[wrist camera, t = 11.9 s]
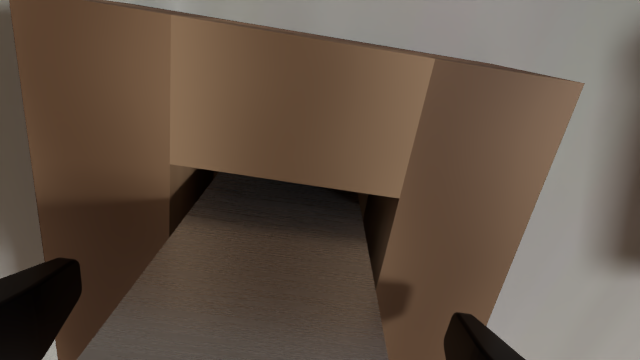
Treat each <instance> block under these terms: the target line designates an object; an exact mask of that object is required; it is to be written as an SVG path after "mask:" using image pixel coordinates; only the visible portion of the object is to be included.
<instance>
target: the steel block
mask: <svg viewBox="0 0 640 360" xmlns="http://www.w3.org/2000/svg"><path fill="white" fill-rule="evenodd" d="M77 360H389V359H388V354H387V349H386V343H385V338H384V333H383V327H382V322H381V316H380V311H379V306H378V300H377V295H376V290H375V284H374V279H373V273H372V268H371V263H370V257H369V252H368V247H367V241H366V236H365V230H364V225H363V220H362V214H361V209H360V203H359V198H358V193H357V192H352V191H346V190H339V189H332V188H326V187H319V186H312V185H306V184H299V183H292V182H286V181H279V180H272V179H266V178H259V177H252V176H246V175H239V174H232V173H226V172H219V173H218V174H217V175H216V177H215V178H214V179H213V181H212V182H211V183H210V185H209V186H208V187H207V189H206V190H205V191H204V193H203V194H202V195H201V196H200V198H199V199H198V200H197V202H196V203H195V204H194V206H193V207H192V208H191V210H190V211H189V212H188V214H187V215H186V216H185V218H184V219H183V220H182V222H181V223H180V224H179V225H178V227H177V228H176V229H175V231H174V232H173V233H172V235H171V236H170V237H169V239H168V240H167V241H166V243H165V244H164V245H163V247H162V248H161V249H160V251H159V252H158V253H157V254H156V256H155V257H154V258H153V260H152V261H151V262H150V264H149V265H148V266H147V268H146V269H145V270H144V272H143V273H142V274H141V276H140V277H139V278H138V280H137V281H136V282H135V284H134V285H133V286H132V287H131V289H130V290H129V291H128V293H127V294H126V295H125V297H124V298H123V299H122V301H121V302H120V303H119V305H118V306H117V307H116V309H115V310H114V311H113V313H112V314H111V315H110V316H109V318H108V319H107V320H106V322H105V323H104V324H103V326H102V327H101V328H100V330H99V331H98V332H97V334H96V335H95V336H94V338H93V339H92V340H91V342H90V343H89V344H88V345H87V347H86V348H85V349H84V351H83V352H82V353H81V355H80V356H79V357H78V359H77Z"/></svg>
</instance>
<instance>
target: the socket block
mask: <svg viewBox="0 0 640 360" xmlns="http://www.w3.org/2000/svg"><path fill="white" fill-rule="evenodd" d="M9 3H10V10H11V17H12V25H13V32H14V39H15V47H16V54H17V61H18V69H19V76H20V83H21V91H22V98H23V105H24V113H25V120H26V128H27V135H28V142H29V150H30V157H31V164H32V172H33V179H34V186H35V194H36V201H37V208H38V216H39V223H40V231H41V238H42V245H43V253H44V260H45V262H47V261H50V260H53V259H55V258H59V257H62V258H70V259H76V260H77V261H78V262H79V263H80V270H81V281H82V293H81V296H80V298H79V300H78V302H77V303H76V305H75V307H74V308H73V310H72V312H71V313H70V315H69V317H68V318H67V320H66V322H65V323H64V325H63V326H62V328H61V330H60V331H59V333H58V335H57V336H56V338H55V341H56V348H57V356H58V360H77V359H78V357H79V356H80V355H81V353H82V352H83V351H84V349H85V348H86V347H87V345H88V344H89V343H90V342H91V340H92V339H93V338H94V336H95V335H96V334H97V332H98V331H99V330H100V328H101V327H102V326H103V324H104V323H105V322H106V320H107V319H108V318H109V316H110V315H111V314H112V313H113V311H114V310H115V309H116V307H117V306H118V305H119V303H120V302H121V301H122V299H123V298H124V297H125V295H126V294H127V293H128V291H129V290H130V289H131V287H132V286H133V285H134V284H135V282H136V281H137V280H138V278H139V277H140V276H141V274H142V273H143V272H144V270H145V269H146V268H147V266H148V265H149V264H150V262H151V261H152V260H153V258H154V257H155V256H156V254H157V253H158V252H159V251H160V249H161V248H162V247H163V245H164V244H165V243H166V241H167V240H168V239H169V237H170V236H171V235H172V233H173V232H174V231H175V229H176V228H177V227H178V225H179V224H180V223H181V222H182V220H183V219H184V218H185V216H186V215H187V214H188V212H189V211H190V210H191V208H192V207H193V206H194V204H195V203H196V202H197V200H198V199H199V198H200V196H201V195H202V194H203V193H204V191H205V190H206V189H207V187H208V186H209V185H210V183H211V182H212V181H213V179H214V178H215V177H216V175H217V174H218V173H219V172H226V173H232V174H239V175H246V176H252V177H259V178H266V179H272V180H279V181H286V182H292V183H299V184H306V185H312V186H319V187H326V188H332V189H339V190H346V191H352V192H357V193H358V198H359V203H360V209H361V214H362V220H363V225H364V230H365V236H366V241H367V247H368V252H369V257H370V263H371V268H372V273H373V279H374V284H375V290H376V295H377V300H378V306H379V311H380V316H381V322H382V327H383V333H384V338H385V343H386V349H387V354H388V359H389V360H446V358H445V352H444V337H445V334H446V331H447V328H448V325H449V323H450V320H451V317H452V315H453V314H454V313H456V312H461V313H468V314H472V315H473V316H475V317H476V318H477V319H478V320H479V321H480V322H482V323H483V324H484V325H485V326H486V325H487V323H488V320H489V318H490V315H491V313H492V310H493V308H494V305H495V303H496V300H497V298H498V295H499V293H500V291H501V288H502V286H503V283H504V281H505V278H506V276H507V273H508V271H509V268H510V266H511V263H512V261H513V259H514V256H515V254H516V251H517V249H518V246H519V244H520V241H521V239H522V236H523V234H524V231H525V229H526V226H527V224H528V222H529V219H530V217H531V214H532V212H533V209H534V207H535V204H536V202H537V199H538V197H539V194H540V192H541V190H542V187H543V185H544V182H545V180H546V177H547V175H548V172H549V170H550V167H551V165H552V162H553V160H554V157H555V155H556V153H557V150H558V148H559V145H560V143H561V140H562V138H563V135H564V133H565V130H566V128H567V125H568V123H569V121H570V118H571V116H572V113H573V111H574V108H575V106H576V103H577V101H578V98H579V96H580V93H581V91H582V88H583V86H584V84H585V83H580V82H575V81H570V80H566V79H561V78H556V77H551V76H547V75H542V74H537V73H532V72H527V71H523V70H518V69H513V68H508V67H504V66H499V65H494V64H489V63H483V62H477V61H471V60H465V59H459V58H453V57H447V56H441V55H435V54H429V53H423V52H417V51H411V50H405V49H399V48H393V47H387V46H381V45H375V44H369V43H363V42H357V41H351V40H345V39H339V38H333V37H327V36H321V35H315V34H309V33H303V32H297V31H291V30H285V29H279V28H273V27H267V26H261V25H255V24H249V23H243V22H237V21H231V20H225V19H219V18H213V17H207V16H201V15H195V14H189V13H183V12H177V11H171V10H165V9H159V8H153V7H147V6H141V5H135V4H128V3H121V2H113V1H106V0H9Z"/></svg>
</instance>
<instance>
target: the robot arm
mask: <svg viewBox="0 0 640 360" xmlns="http://www.w3.org/2000/svg"><path fill="white" fill-rule="evenodd" d="M81 293H82V281H81V270H80V263H79V262H78V261H77V260H76V259H70V258H62V257H59V258H55V259H53V260H50V261H47V262H44V263H42V264H39V265H36V266H34V267H31V268H28V269H26V270H23V271H20V272H17V273H15V274H12V275H9V276H7V277H4V278H1V279H0V360H42V359H43V357H44V356H45V354H46V352H47V351H48V349H49V348H50V346H51V345H52V343H53V341H54V340H55V338H56V336H57V335H58V333H59V331H60V330H61V328H62V326H63V325H64V323H65V322H66V320H67V318H68V317H69V315H70V313H71V312H72V310H73V308H74V307H75V305H76V303H77V302H78V300H79V298H80V296H81ZM444 352H445V358H446V360H525V359H524V358H523V357H522V356H520V355H519V354H518V353H517V352H516V351H515V350H513V349H512V348H511V347H510V346H509V345H507V344H506V343H505V342H504V341H503V340H502V339H500V338H499V337H498V336H497V335H496V334H495V333H493V332H492V331H491V330H490V329H489V328H487V327H486V326H485V325H484V324H483V323H482V322H480V321H479V320H478V319H477V318H476V317H475V316H473V315H472V314H468V313H461V312H456V313H454V314H453V315H452V317H451V320H450V323H449V325H448V328H447V331H446V334H445V337H444Z"/></svg>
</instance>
